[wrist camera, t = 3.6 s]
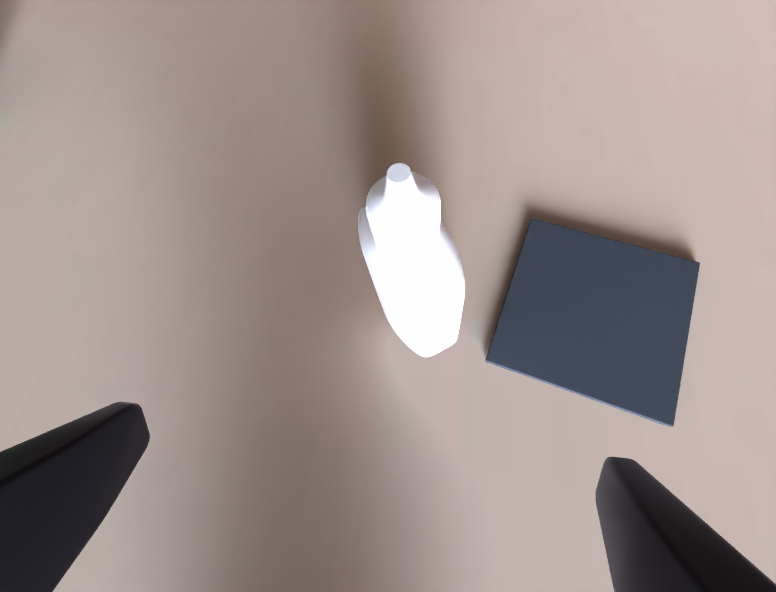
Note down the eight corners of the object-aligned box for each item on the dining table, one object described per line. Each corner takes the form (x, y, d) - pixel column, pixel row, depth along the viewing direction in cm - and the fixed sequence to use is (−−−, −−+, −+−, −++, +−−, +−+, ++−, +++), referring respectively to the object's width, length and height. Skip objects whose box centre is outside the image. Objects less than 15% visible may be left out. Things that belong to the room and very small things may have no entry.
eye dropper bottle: (376, 359, 22) (316, 263, 11) (379, 265, 24) (331, 104, 13) (458, 359, 22) (482, 257, 10) (453, 263, 24) (470, 93, 12)
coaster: (670, 426, 19) (673, 426, 19) (485, 361, 21) (485, 360, 21) (697, 264, 22) (700, 262, 22) (530, 220, 24) (531, 217, 24)
